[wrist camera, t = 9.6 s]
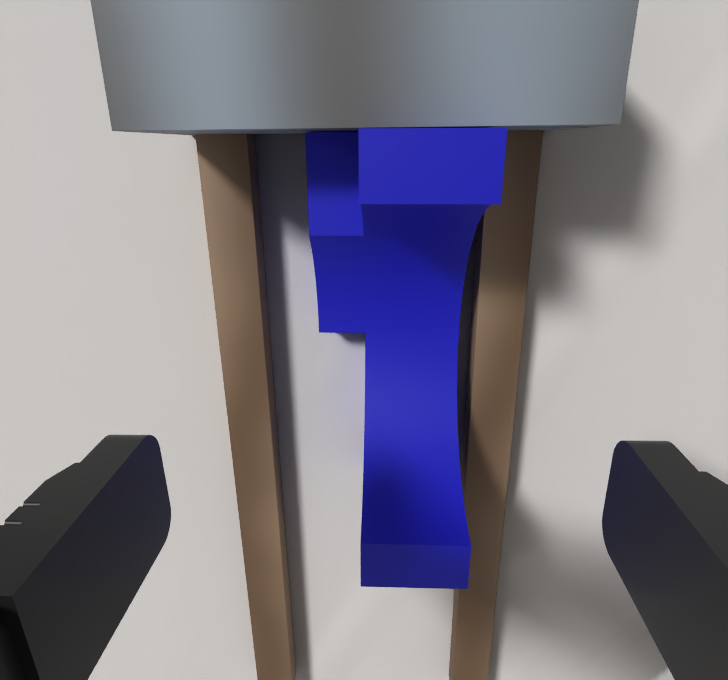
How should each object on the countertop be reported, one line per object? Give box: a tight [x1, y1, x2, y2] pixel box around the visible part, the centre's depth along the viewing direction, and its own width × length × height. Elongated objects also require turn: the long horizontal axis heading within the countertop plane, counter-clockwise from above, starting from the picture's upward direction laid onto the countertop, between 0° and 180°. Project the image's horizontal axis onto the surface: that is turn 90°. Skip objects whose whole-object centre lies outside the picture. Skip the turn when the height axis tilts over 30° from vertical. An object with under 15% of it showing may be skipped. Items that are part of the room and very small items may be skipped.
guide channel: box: [91, 0, 639, 680], centre depth 17 cm, size 11×26×5 cm, turn 1°
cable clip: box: [305, 128, 507, 589], centre depth 16 cm, size 12×4×6 cm, turn 0°
